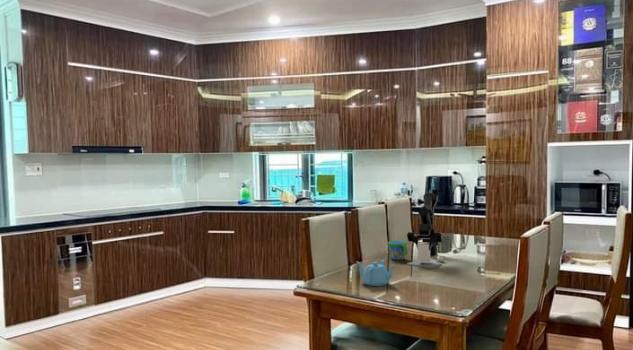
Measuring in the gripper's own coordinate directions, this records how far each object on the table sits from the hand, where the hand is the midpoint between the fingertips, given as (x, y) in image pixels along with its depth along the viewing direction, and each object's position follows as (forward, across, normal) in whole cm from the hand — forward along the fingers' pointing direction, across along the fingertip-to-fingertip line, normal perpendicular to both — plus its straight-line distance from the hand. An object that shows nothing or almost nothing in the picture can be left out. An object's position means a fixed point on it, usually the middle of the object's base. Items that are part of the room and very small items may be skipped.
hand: (423, 249), depth 252 cm
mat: (+5, 0, +7) cm, 9 cm away
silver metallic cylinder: (-2, +8, +14) cm, 16 cm away
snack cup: (-4, -17, +17) cm, 24 cm away
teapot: (+36, -17, -23) cm, 46 cm away
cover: (+4, 0, +6) cm, 7 cm away
